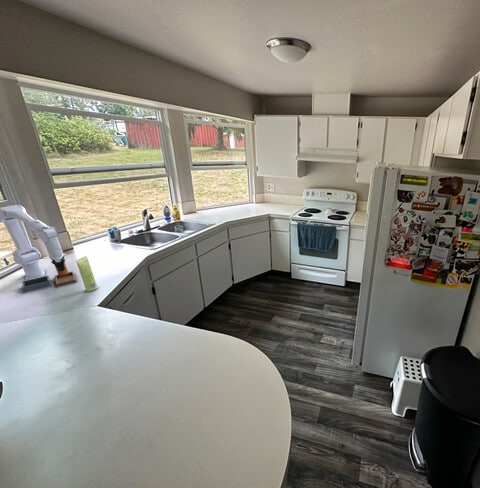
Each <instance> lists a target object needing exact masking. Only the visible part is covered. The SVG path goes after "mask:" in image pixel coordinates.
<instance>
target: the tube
mask: <svg viewBox="0 0 480 488" xmlns="http://www.w3.org/2000/svg"><path fill="white" fill-rule="evenodd" d="M75 263H76V267H77V268H78V270H79V274H80V278H81V280H82V283H83V286H84V288H85V291H86V292H92V291H96V290H97V289H98V285H97V282H96V280H95V276H94V272H93V271H92V267H91V264H90V261H89V258H88V256H87V255H85V256H83V257H81V258H78V259H77V260H75Z"/></svg>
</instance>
